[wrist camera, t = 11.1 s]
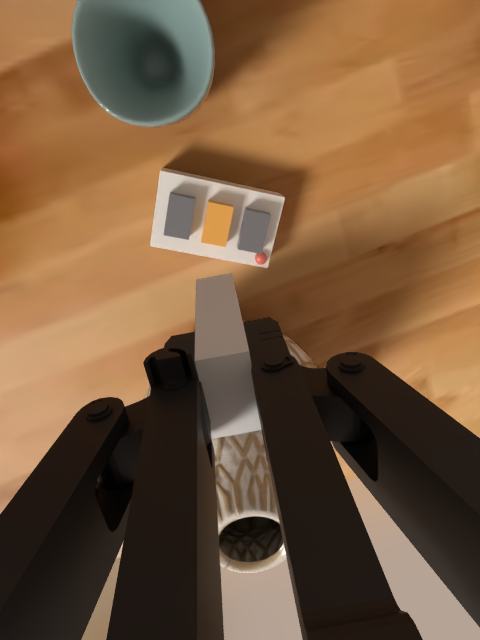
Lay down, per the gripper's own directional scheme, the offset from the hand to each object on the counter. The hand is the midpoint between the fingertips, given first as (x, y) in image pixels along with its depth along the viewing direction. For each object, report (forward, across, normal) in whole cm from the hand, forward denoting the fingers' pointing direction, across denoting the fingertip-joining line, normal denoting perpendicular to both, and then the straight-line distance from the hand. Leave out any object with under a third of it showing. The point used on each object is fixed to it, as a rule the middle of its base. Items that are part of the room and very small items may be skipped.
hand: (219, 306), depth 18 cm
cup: (+21, -2, +11) cm, 24 cm away
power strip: (+21, 0, 0) cm, 21 cm away
